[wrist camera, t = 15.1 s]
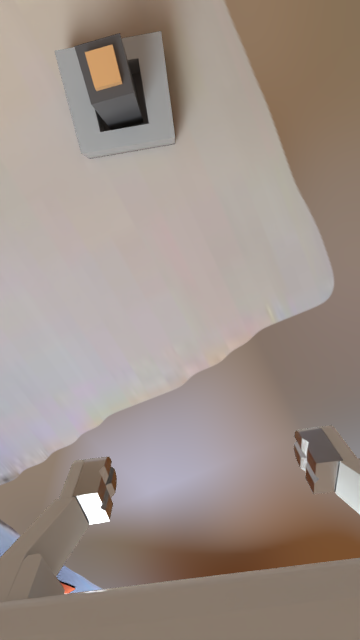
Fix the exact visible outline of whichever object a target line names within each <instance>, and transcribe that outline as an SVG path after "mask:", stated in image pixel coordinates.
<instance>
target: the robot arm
mask: <svg viewBox="0 0 360 640" xmlns="http://www.w3.org/2000/svg"><path fill="white" fill-rule="evenodd" d="M294 437H295V439H296V440H297V441H296V442H295V443H294V452H295V456H296V459H297V462H298V464H299V466H300V468H301V469H303V470H304V471H305V472H306V480H307V482H308V484H309V486H310V488H311V490H312V492H313V494H322V493H331V492H335V493H336V494H337V495H338V496H339V497H340V498H341V499H343V500H344V501H345V502H346V503H347V504H349V506H351V507H352V508H353V509H354V510H355V511H356V512H358V513H359V514H360V459H357V457H356V456H355V455H354V453H353V452H352V451H351V449H350V448H349V447H348V445H347V444H346V443H345V441H344V440H343V439H342V437H341V436H340V435H339V433H338V432H337V431H336V429H335V428H334V427H333V426H331V425H329V426H322V427H314V428H307V429H300V430H296V431H295V435H294ZM111 463H112V461H111V459H110V457H101V458H92V459H84V460H76V461H74V463H73V464H72V465H71V468H70V471H69V473H68V476H67V479H66V481H65V484H64V486H63V489H62V492H61V495H60V497H59V499H55V500H54V501H53V502H52V503H51V505H50V506H49V507H48V508H47V509H46V510H45V511H44V512H43V513H42V514H41V515H40V516H39V517H38V518H37V519H36V520H35V521H34V523H33V524H32V525H31V526H30V527H29V528H28V529H27V530H26V531H25V532H24V533H23V534H22V535H21V536H20V537H19V538H18V539H17V541H16V542H15V543H14V544H13V545H12V546H11V547H10V548H9V549H8V550H7V551H6V552H5V553H4V554H3V555H2V556H1V558H0V640H360V558H355V559H348V560H339V561H331V562H323V563H314V564H306V565H298V566H290V567H281V568H273V569H265V570H257V571H249V572H241V573H233V574H225V575H216V576H208V577H200V578H192V579H183V580H176V581H167V582H159V583H151V584H144V585H135V586H127V587H118V588H111V589H102V590H94V591H86V592H78V593H70V594H64V592H65V590H64V588H63V586H62V584H61V583H60V582H59V580H58V579H57V577H56V576H57V574H58V573H59V571H60V570H61V568H62V567H63V565H64V564H65V562H66V560H67V559H68V557H69V556H70V555H71V553H72V552H73V550H74V549H75V547H76V545H77V544H78V543H79V541H80V539H81V538H82V536H83V535H84V533H85V532H86V530H87V529H88V527H89V524H95V523H100V522H107V521H110V517H111V511H112V507H113V502H112V500H111V497H112V496H113V495H114V493H115V491H116V483H117V478H116V472H115V469H114V468H113V467H111Z"/></svg>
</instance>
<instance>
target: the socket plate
mask: <svg viewBox="0 0 360 640" xmlns="http://www.w3.org/2000/svg"><path fill="white" fill-rule="evenodd" d="M121 39H122V42H123V45H124V49H125V52H126V56H127V59H128V63H129V66H130V69H131V73H132V76H133V80H134V84H135V88H136V92H137V97H138V101H139V105H140V110H141V114H142V118H143V123H139V124H136V125H132V126H128V127H124V128H121V129H115V130H111V129H110V128H109V127H108V125H107V124H106V123H105V121H104V120H103V119H102V118H101V116H100V115H99V114H98V112H97V111H96V110H95V109H94V107H93V106H92V105H91V102H90V98H89V95H88V92H87V88H86V85H85V81H84V78H83V74H82V71H81V68H80V64H79V61H78V57H77V54H76V51H75V47H73V48H67V49H62V50H57V51H55V55H56V59H57V63H58V66H59V70H60V74H61V78H62V82H63V85H64V89H65V93H66V97H67V101H68V105H69V108H70V112H71V116H72V120H73V124H74V127H75V131H76V135H77V139H78V143H79V147H80V150H81V154H83V155H84V156H86V157H88V158H90V159H91V158H97V157H103V156H109V155H115V154H120V153H126V152H132V151H138V150H143V149H149V148H155V147H161V146H166V145H172V144H175V132H174V125H173V117H172V110H171V102H170V95H169V87H168V80H167V72H166V65H165V57H164V49H163V42H162V34H161V31H158V32H153V33H148V34H142V35H137V36H132V37H126V38H121Z"/></svg>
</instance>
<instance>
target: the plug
mask: <svg viewBox="0 0 360 640" xmlns="http://www.w3.org/2000/svg"><path fill="white" fill-rule="evenodd" d="M74 47H75V51H76V54H77V57H78V61H79V64H80V68H81V71H82V74H83V78H84V81H85V85H86V88H87V92H88V95H89V98H90V102H91V105H92V106H93V107H94V109H95V110H96V111H97V112H98V114H99V115H100V116H101V118H102V119H103V120H104V121H105V123H106V124H107V125H108V127H109V128H110V129H111V130H115V129H121V128H124V127H128V126H132V125H136V124H139V123H143V118H142V114H141V110H140V105H139V101H138V97H137V92H136V88H135V84H134V80H133V76H132V73H131V69H130V66H129V63H128V59H127V56H126V52H125V49H124V45H123V42H122V39H121V35H120V33H119V34H115V35H112V36H108V37H105V38H102V39H98V40H95V41H91V42H88V43H84V44H81V45H78V46H74Z"/></svg>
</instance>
